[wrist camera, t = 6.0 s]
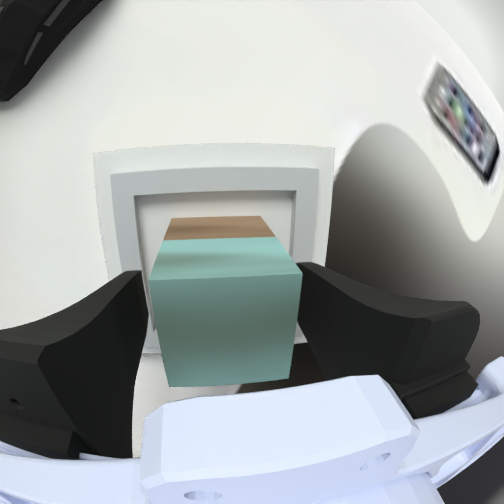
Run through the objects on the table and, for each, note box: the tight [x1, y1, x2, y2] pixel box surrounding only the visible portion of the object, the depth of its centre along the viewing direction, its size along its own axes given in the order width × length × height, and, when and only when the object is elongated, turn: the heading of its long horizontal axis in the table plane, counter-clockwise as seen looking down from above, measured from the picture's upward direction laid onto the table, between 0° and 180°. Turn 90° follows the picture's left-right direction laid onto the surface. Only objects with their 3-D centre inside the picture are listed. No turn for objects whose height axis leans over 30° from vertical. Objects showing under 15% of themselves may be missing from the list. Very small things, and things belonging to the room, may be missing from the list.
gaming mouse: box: [0, 0, 102, 102], centre depth 6 cm, size 6×15×4 cm, turn 138°
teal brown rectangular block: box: [148, 216, 303, 387], centre depth 11 cm, size 4×4×6 cm
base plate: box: [93, 143, 335, 353], centre depth 14 cm, size 11×11×2 cm
